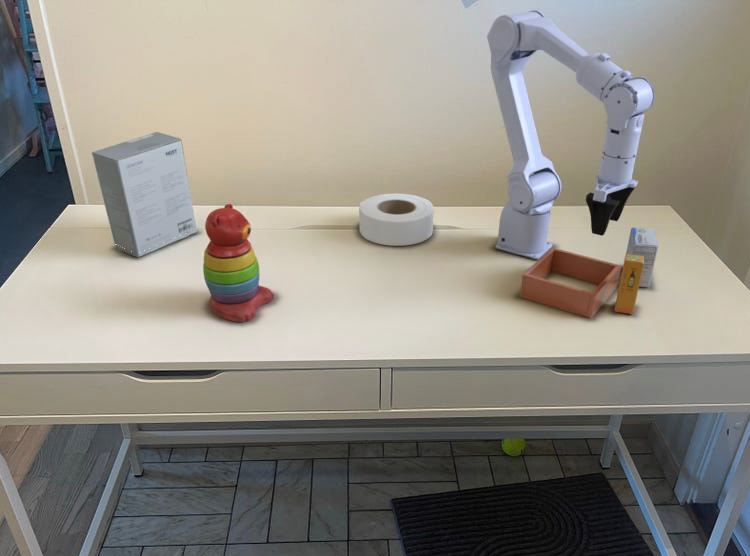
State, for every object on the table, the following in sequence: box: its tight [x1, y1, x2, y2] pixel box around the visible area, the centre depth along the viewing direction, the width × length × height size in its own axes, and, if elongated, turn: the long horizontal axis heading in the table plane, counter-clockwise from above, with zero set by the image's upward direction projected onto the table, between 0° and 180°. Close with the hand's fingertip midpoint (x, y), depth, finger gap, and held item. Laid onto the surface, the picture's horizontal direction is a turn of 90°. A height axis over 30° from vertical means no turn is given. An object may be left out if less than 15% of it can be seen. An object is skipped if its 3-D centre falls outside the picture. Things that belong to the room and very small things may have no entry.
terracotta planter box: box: [519, 246, 622, 319], centre depth 131 cm, size 14×14×4 cm
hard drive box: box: [91, 131, 198, 258], centre depth 142 cm, size 16×8×20 cm, turn 144°
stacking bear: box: [202, 203, 275, 323], centre depth 121 cm, size 11×10×18 cm
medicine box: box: [625, 227, 659, 289], centre depth 134 cm, size 8×4×9 cm, turn 168°
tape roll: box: [358, 193, 435, 247], centre depth 151 cm, size 16×16×6 cm
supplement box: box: [614, 253, 644, 315], centre depth 124 cm, size 3×3×10 cm
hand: (605, 226), depth 131 cm, fingers open, 7 cm apart
